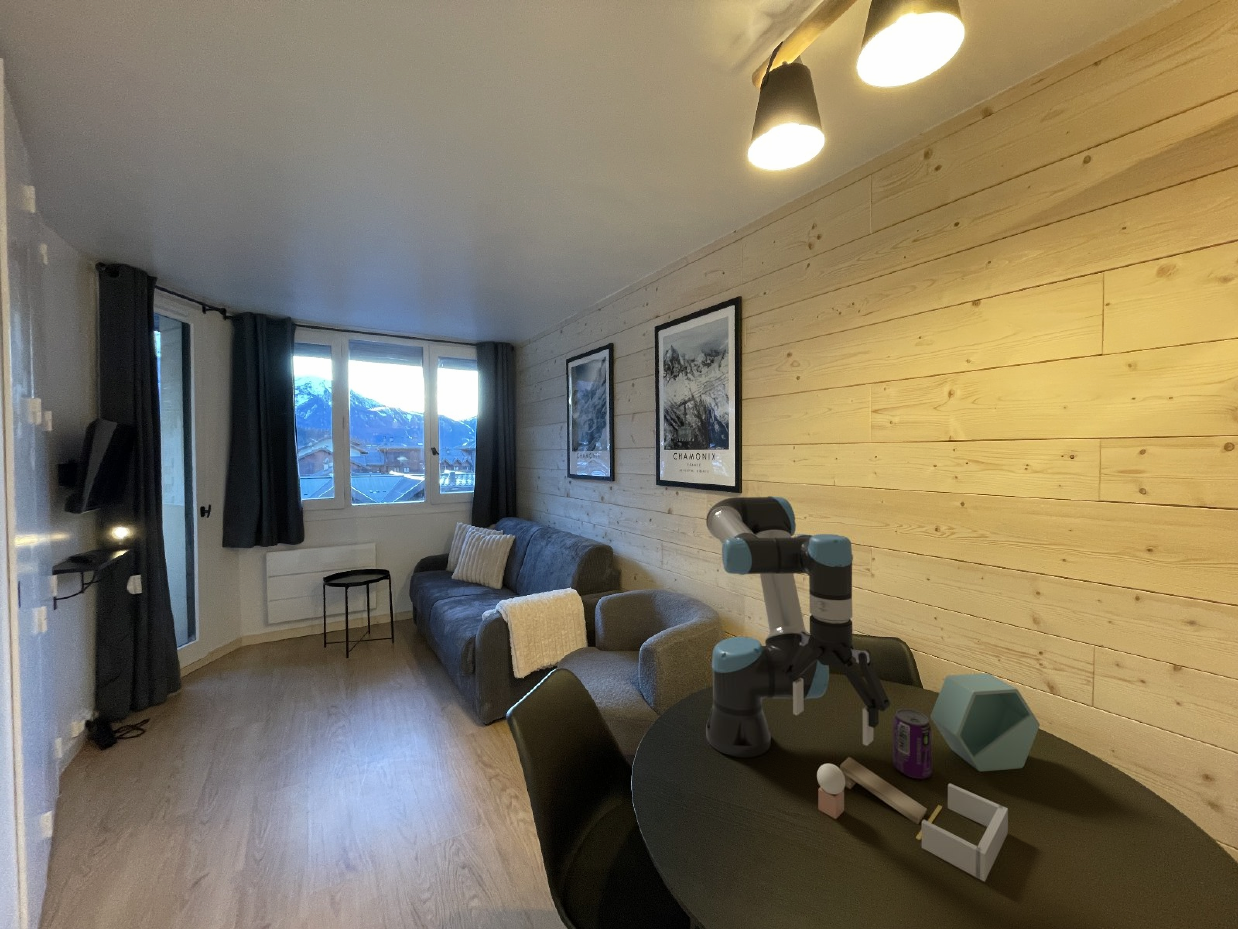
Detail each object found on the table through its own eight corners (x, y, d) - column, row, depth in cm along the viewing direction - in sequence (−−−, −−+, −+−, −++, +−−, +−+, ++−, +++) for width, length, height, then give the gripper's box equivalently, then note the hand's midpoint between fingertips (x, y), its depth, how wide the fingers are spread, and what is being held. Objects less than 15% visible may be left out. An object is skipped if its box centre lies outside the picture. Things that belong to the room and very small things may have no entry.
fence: (921, 847, 85) (921, 822, 85) (949, 806, 94) (949, 783, 94) (984, 882, 78) (984, 854, 78) (1007, 833, 88) (1007, 808, 87)
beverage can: (937, 783, 101) (937, 726, 100) (900, 779, 102) (899, 723, 102) (923, 762, 108) (923, 708, 107) (888, 758, 109) (888, 706, 109)
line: (915, 838, 87) (915, 837, 87) (938, 805, 94) (938, 805, 94) (919, 840, 86) (919, 839, 86) (942, 807, 94) (942, 806, 94)
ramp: (839, 784, 101) (839, 764, 101) (848, 776, 104) (848, 756, 104) (919, 825, 90) (919, 803, 90) (927, 815, 92) (926, 793, 92)
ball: (812, 790, 94) (812, 765, 94) (824, 779, 97) (824, 754, 97) (837, 804, 90) (837, 778, 90) (850, 792, 94) (849, 766, 93)
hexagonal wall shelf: (992, 791, 104) (943, 716, 103) (963, 768, 112) (917, 697, 111) (1053, 744, 105) (1005, 669, 104) (1020, 724, 113) (975, 653, 112)
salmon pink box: (818, 809, 94) (818, 789, 94) (827, 801, 96) (826, 781, 96) (835, 819, 91) (835, 798, 91) (844, 810, 94) (844, 790, 94)
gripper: (762, 606, 100) (763, 708, 100) (893, 640, 81) (893, 766, 81) (782, 598, 105) (783, 695, 105) (910, 629, 86) (910, 747, 86)
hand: (831, 726), depth 93 cm, fingers open, 13 cm apart
